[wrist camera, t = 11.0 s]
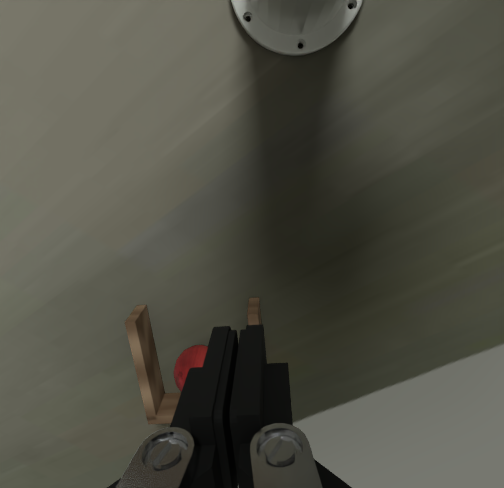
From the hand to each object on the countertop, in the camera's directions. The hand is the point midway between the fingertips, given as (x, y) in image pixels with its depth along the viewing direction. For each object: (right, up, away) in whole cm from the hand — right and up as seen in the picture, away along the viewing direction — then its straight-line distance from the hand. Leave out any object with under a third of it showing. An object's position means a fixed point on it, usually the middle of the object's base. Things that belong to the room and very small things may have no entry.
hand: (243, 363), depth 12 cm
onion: (-6, -10, +34) cm, 36 cm away
